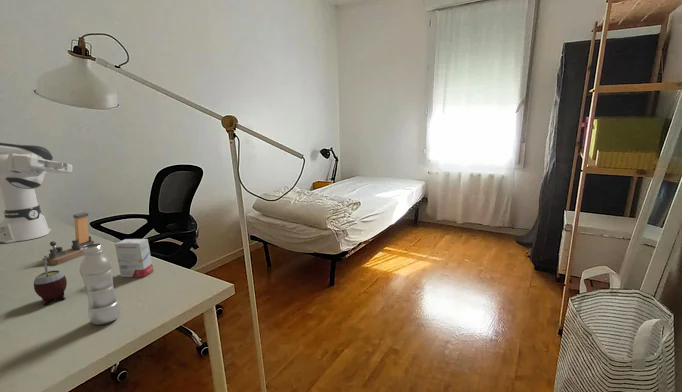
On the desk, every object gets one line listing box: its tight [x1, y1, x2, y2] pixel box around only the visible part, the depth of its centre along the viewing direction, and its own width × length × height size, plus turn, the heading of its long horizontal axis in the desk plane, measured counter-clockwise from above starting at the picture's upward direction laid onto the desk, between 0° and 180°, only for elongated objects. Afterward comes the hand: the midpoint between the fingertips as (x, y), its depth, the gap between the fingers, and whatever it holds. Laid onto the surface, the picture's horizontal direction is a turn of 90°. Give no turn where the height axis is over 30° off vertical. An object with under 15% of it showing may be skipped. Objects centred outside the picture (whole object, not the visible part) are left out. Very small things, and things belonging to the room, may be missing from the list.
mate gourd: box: [33, 255, 68, 306], centre depth 94 cm, size 8×8×15 cm
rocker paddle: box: [72, 211, 90, 244], centre depth 133 cm, size 2×4×12 cm, turn 167°
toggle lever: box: [49, 240, 57, 251], centre depth 125 cm, size 2×2×4 cm
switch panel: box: [42, 235, 95, 266], centre depth 130 cm, size 7×16×6 cm, turn 167°
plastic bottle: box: [79, 242, 121, 326], centre depth 82 cm, size 6×7×20 cm
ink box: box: [114, 238, 154, 278], centre depth 110 cm, size 9×5×12 cm, turn 84°
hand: (65, 165), depth 130 cm, fingers closed
